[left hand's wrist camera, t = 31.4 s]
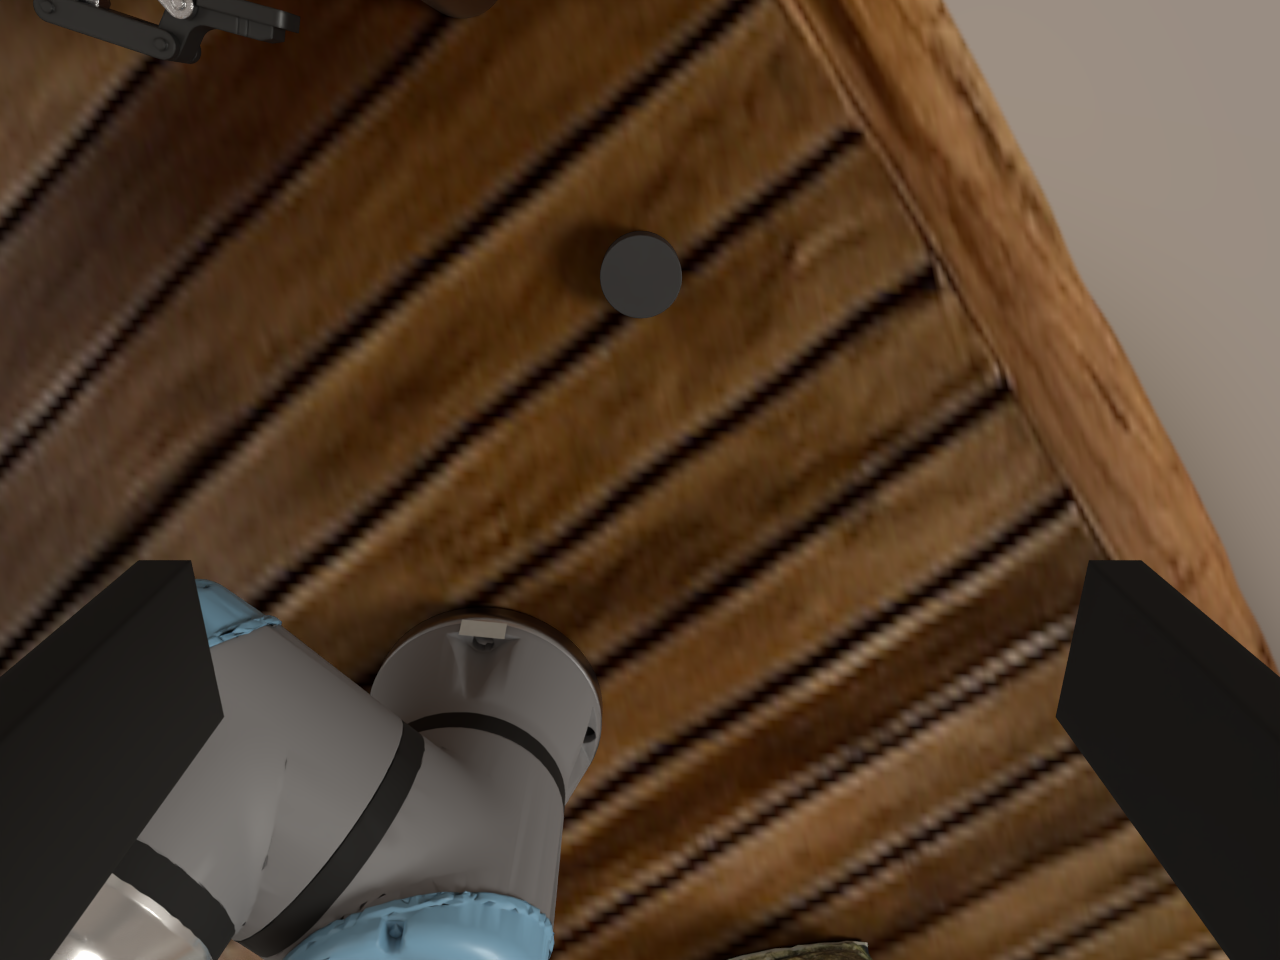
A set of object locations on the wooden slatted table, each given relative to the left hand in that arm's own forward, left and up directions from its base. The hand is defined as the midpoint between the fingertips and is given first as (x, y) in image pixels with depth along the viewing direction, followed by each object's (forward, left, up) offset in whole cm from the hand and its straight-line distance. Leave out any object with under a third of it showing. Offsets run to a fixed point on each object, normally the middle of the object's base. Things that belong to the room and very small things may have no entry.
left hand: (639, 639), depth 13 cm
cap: (0, 0, -36) cm, 36 cm away
